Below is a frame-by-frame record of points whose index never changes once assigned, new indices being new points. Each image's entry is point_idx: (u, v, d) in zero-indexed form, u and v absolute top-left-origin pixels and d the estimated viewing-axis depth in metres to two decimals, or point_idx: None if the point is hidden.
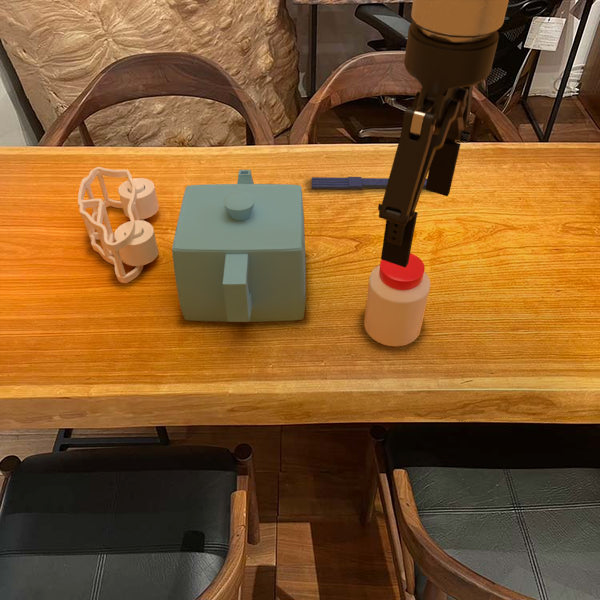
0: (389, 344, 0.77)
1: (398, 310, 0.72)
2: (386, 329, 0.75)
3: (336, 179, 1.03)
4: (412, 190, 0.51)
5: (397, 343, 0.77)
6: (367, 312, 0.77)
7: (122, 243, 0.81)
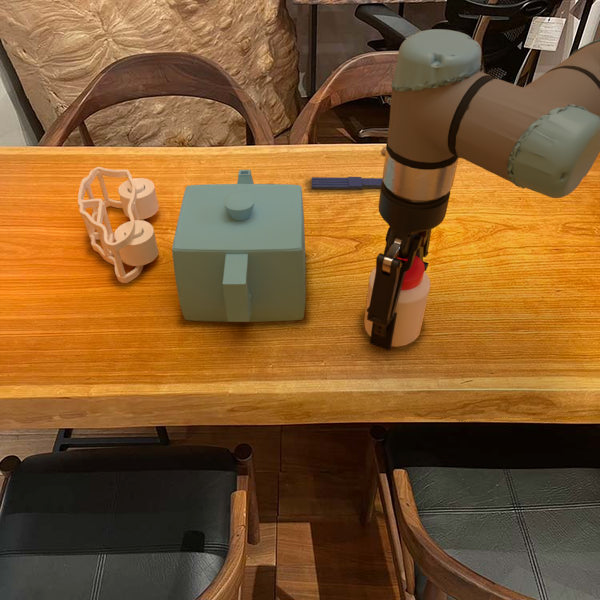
0: None
1: (398, 310, 0.72)
2: None
3: (336, 179, 1.03)
4: (389, 307, 0.68)
5: (397, 343, 0.77)
6: (367, 312, 0.77)
7: (122, 243, 0.81)
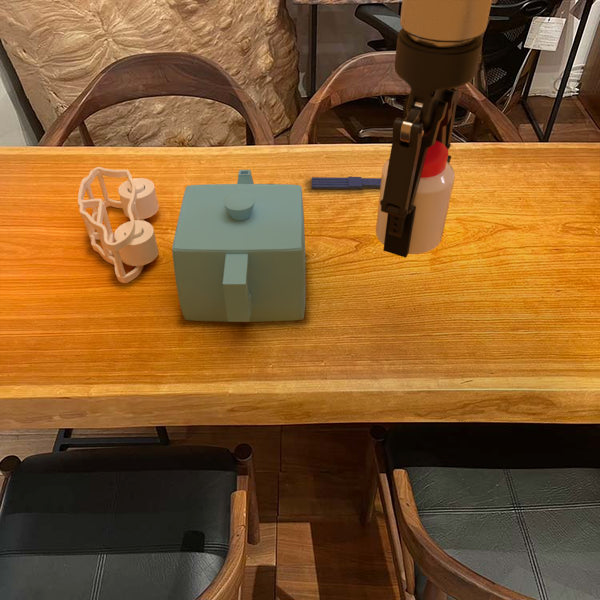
0: None
1: (417, 203, 0.61)
2: None
3: (336, 179, 1.03)
4: (407, 190, 0.56)
5: (415, 250, 0.65)
6: (380, 214, 0.66)
7: (122, 243, 0.81)
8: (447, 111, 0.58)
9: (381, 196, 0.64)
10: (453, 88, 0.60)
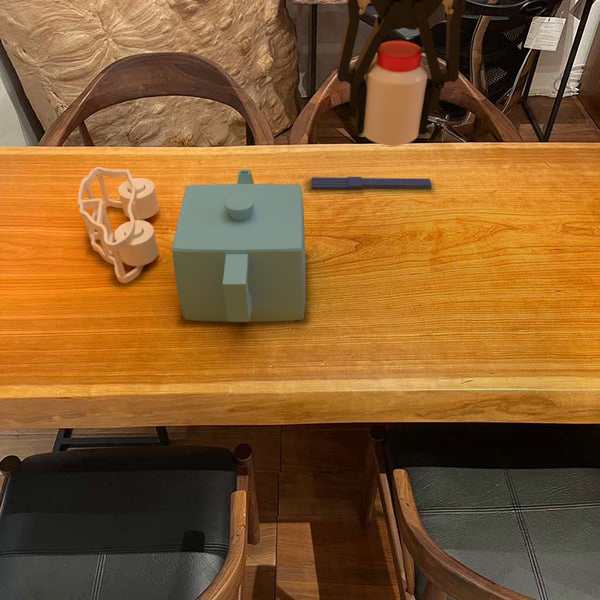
0: (363, 132, 0.79)
1: (368, 86, 0.74)
2: None
3: (336, 179, 1.03)
4: (342, 55, 0.71)
5: (366, 133, 0.78)
6: None
7: (122, 243, 0.81)
8: (416, 20, 0.68)
9: None
10: (448, 12, 0.68)
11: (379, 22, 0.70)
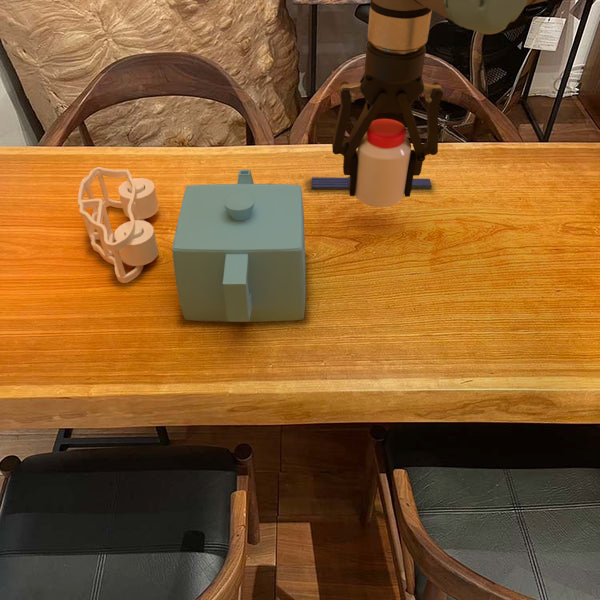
0: (355, 194, 0.90)
1: (359, 158, 0.85)
2: None
3: (336, 179, 1.03)
4: (336, 133, 0.82)
5: (358, 196, 0.89)
6: None
7: (122, 243, 0.81)
8: (400, 107, 0.79)
9: None
10: (427, 100, 0.78)
11: (368, 106, 0.81)
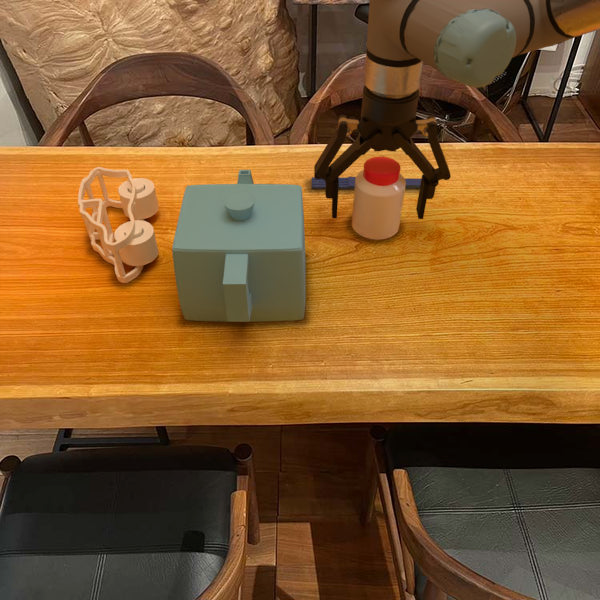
0: (352, 226, 0.94)
1: (356, 194, 0.89)
2: (353, 210, 0.93)
3: None
4: (323, 160, 0.85)
5: (355, 228, 0.93)
6: None
7: (122, 243, 0.81)
8: (398, 145, 0.83)
9: None
10: (424, 135, 0.82)
11: (360, 140, 0.85)
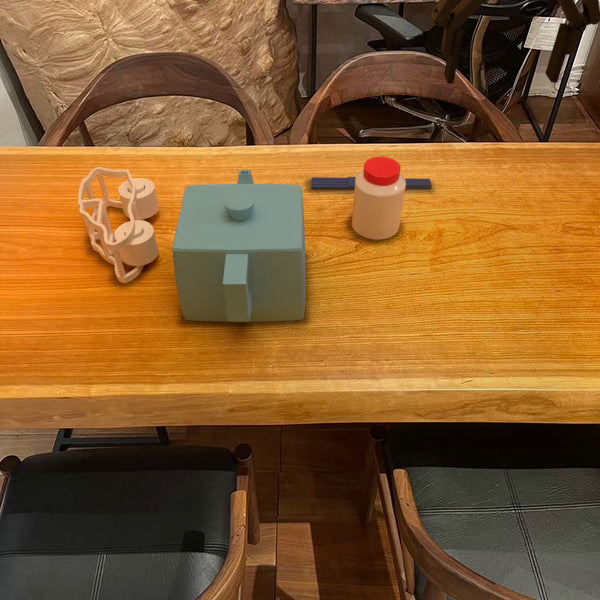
0: (352, 226, 0.94)
1: (356, 194, 0.89)
2: (353, 210, 0.93)
3: (336, 179, 1.03)
4: None
5: (355, 228, 0.93)
6: None
7: (122, 243, 0.81)
8: None
9: None
10: None
11: None
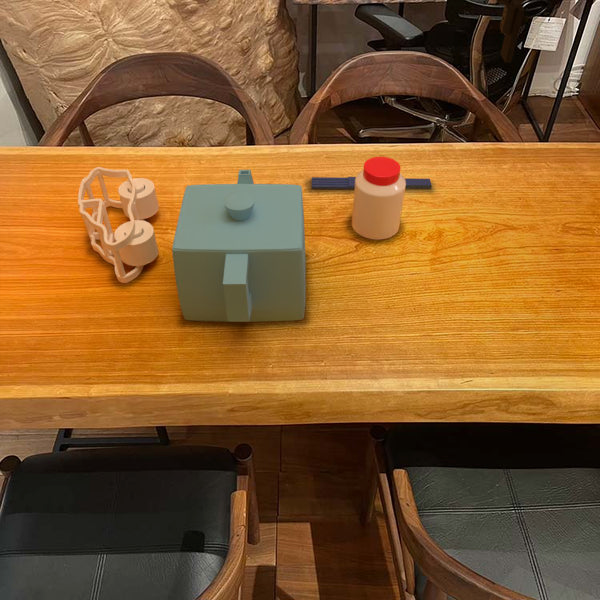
0: (352, 226, 0.94)
1: (356, 194, 0.89)
2: (353, 210, 0.93)
3: (336, 179, 1.03)
4: None
5: (355, 228, 0.93)
6: None
7: (122, 243, 0.81)
8: None
9: None
10: None
11: None
